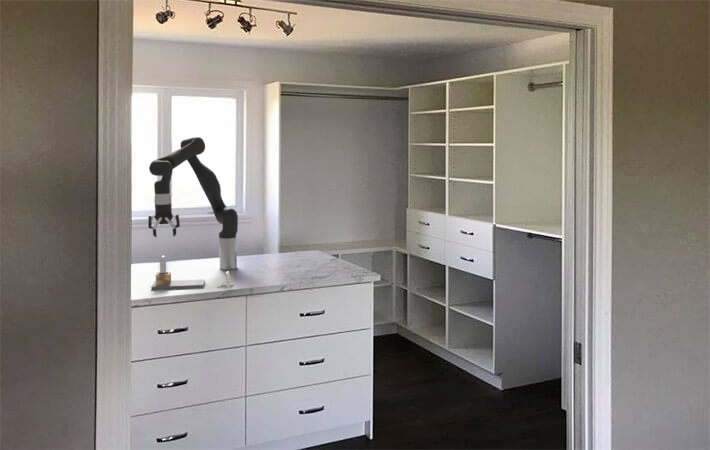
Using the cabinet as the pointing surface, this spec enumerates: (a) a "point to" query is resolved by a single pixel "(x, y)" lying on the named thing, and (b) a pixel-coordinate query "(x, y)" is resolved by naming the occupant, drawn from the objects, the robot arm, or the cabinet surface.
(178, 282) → the lacing board
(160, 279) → the oak bead
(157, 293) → the cabinet surface
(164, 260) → the steel needle
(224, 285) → the stand
